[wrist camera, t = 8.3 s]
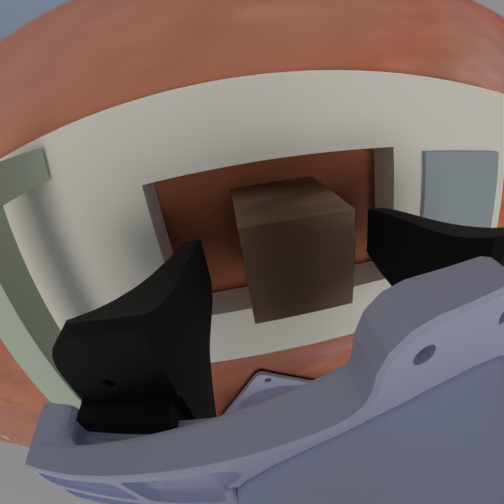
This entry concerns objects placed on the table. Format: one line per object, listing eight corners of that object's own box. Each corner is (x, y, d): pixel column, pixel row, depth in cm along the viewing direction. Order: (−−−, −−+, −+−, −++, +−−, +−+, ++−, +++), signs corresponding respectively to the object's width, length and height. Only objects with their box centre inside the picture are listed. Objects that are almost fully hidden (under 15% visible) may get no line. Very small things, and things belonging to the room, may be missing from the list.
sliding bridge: (41, 147, 9) (-39, 177, 5) (134, 368, 15) (120, 441, 11) (12, 162, 9) (-64, 197, 5) (106, 370, 15) (88, 439, 11)
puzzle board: (482, 91, 12) (507, 94, 10) (466, 275, 18) (484, 290, 16) (-4, 165, 11) (-28, 176, 9) (80, 353, 17) (70, 376, 15)
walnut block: (311, 176, 14) (355, 208, 9) (316, 248, 16) (352, 302, 11) (230, 189, 14) (237, 229, 9) (243, 261, 15) (255, 323, 11)
